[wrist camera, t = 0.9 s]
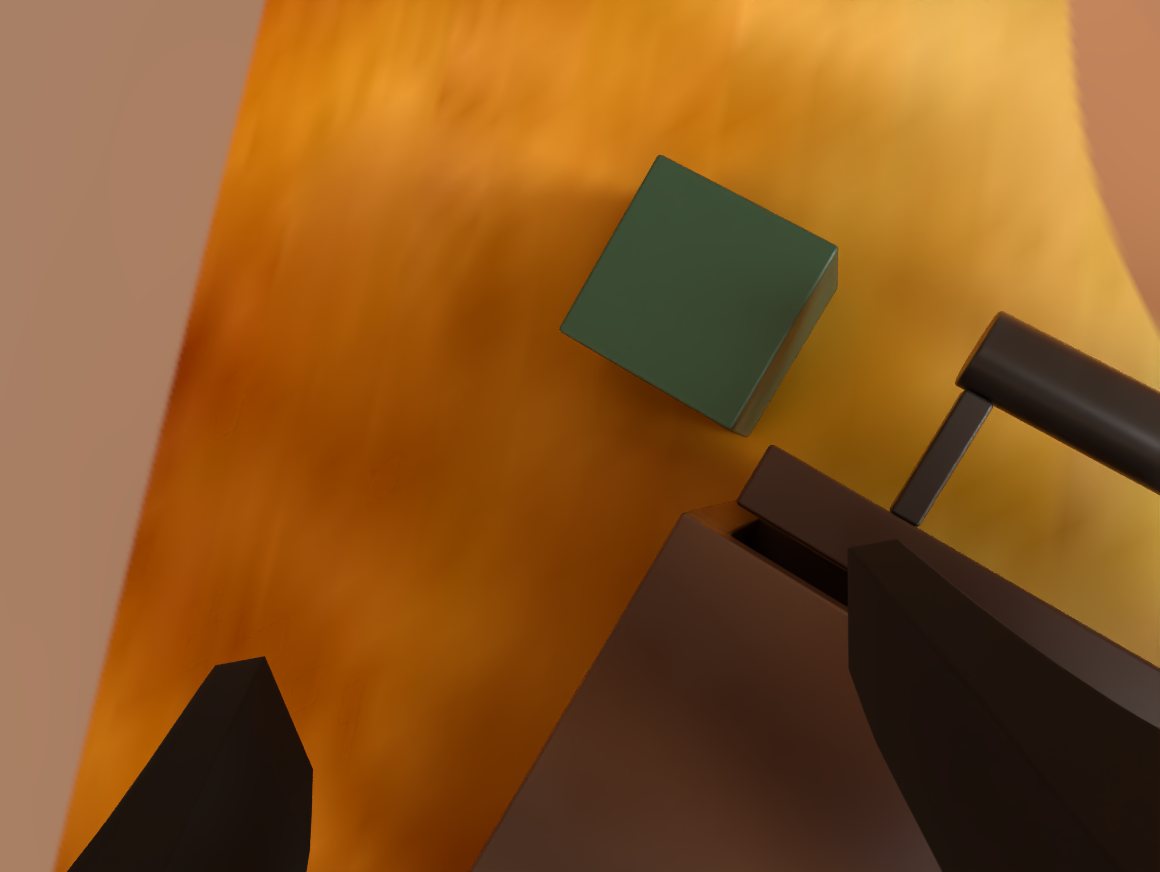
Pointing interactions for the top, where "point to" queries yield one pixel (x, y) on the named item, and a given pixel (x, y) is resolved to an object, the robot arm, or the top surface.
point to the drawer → (990, 378)
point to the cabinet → (716, 727)
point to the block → (704, 295)
